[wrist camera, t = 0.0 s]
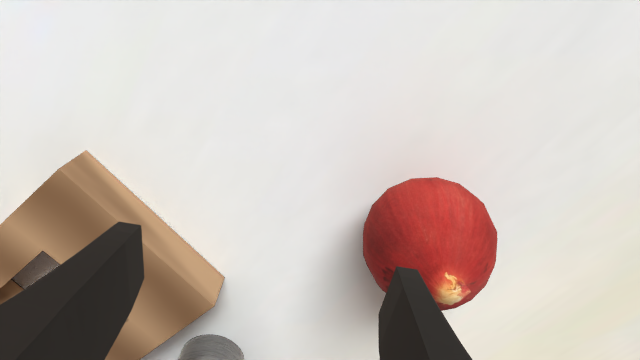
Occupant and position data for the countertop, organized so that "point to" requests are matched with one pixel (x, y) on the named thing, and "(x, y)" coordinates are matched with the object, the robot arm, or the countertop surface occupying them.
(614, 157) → the countertop surface
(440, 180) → the onion
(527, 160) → the countertop surface
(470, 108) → the countertop surface
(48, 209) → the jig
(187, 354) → the brushed metal cylinder
